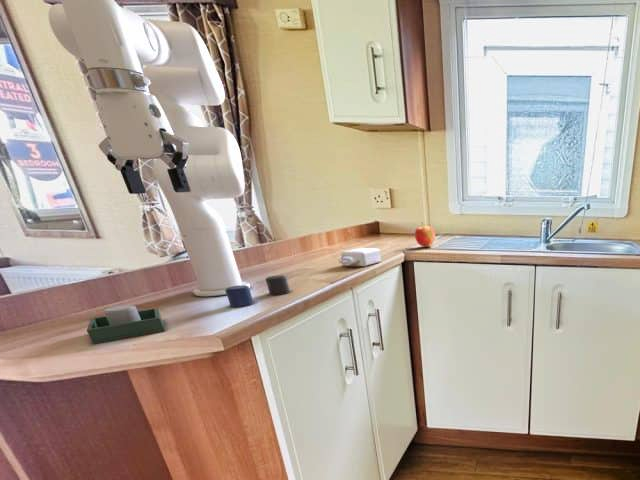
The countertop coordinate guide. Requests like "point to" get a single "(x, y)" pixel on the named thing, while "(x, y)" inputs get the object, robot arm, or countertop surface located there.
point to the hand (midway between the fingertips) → (160, 192)
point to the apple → (425, 236)
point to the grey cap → (122, 314)
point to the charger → (360, 257)
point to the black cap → (277, 285)
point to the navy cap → (239, 296)
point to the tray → (125, 327)
